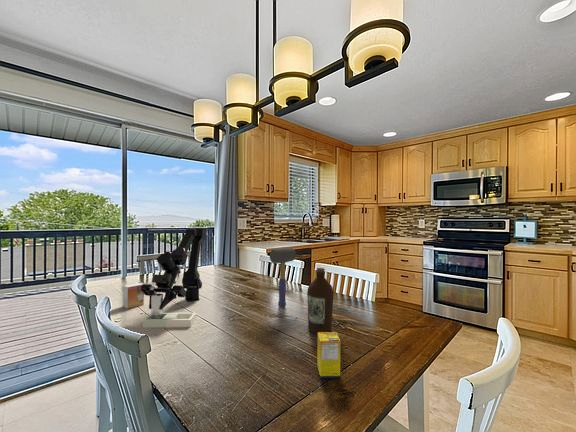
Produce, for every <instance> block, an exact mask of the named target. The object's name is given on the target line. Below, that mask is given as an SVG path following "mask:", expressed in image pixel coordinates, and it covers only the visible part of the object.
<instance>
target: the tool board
mask: <svg viewBox="0 0 576 432" xmlns="http://www.w3.org/2000/svg"><path fill="white" fill-rule="evenodd" d="M196 320H197V312H163V318H162V319H151V313H149V314H148V315H147V316H146V317H145V318H143V319H142V322H141V323H142V326H141V327H142V328H143V329H145V328H147V329H148V328H153V329H154V328H191V327H192V326H193V325H194V323H195V322H196Z"/></svg>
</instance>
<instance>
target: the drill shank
mask: <svg viewBox="0 0 576 432" xmlns="http://www.w3.org/2000/svg"><path fill="white" fill-rule="evenodd" d="M163 299H164V294H163V293H157V294H153V295H151V309H150V310H151V311H150V314H151V319H162V318H163V313H164V308H163V309H162V310H160V306H161V304H162V301H163Z"/></svg>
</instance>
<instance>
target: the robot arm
mask: <svg viewBox="0 0 576 432" xmlns="http://www.w3.org/2000/svg"><path fill="white" fill-rule="evenodd" d="M206 236H207V230H206V229H205V228H204V227H192V228H186V229H185V231H184V234H183V236H182V238H181V240H180V241H179V244H178V246H177V248H175V249H173V250H172V251H164V253H161V254H160V255H159V256H157V258H156V261H157V264H159V266H160V268H161V269H162V270H163V271H164V272H163V274H153V277H152V280H151V283H154V284H155V286H156V287H155V286H153V284H151V283H142V284H143V285H142V286H141V287H140V290H141V291H142V292H143V294H144V296H146V297H148V296H149V303H148V309H149V310H151V295H153V294H158V293H161V294H163V293H164V296H163V301H162V304H161V306H160V310H162V309H163V310H164V308H165V307H166V306H167V305H169V304H170V303H171V302H172V301H174V300H176V299H177V297H178V298H184V299H185V301H186V302H194V301H200V298H199V297H200V290H201V289H202V287H203V282H202V280H201V278H200V273H199V270H198V268H199V260H200V253H201V246H202V244H203V242H204V241H205V239H206ZM190 247H191V248H190ZM189 249H190V254H189V260H188V261H189V262H188V267H187V269H186V271H184V272H183V274H182V275H183V276H182V280H181V284H182V285H176V283H177V281H176V279H177V277H178V275H179V274H181V267H179V266H184V265H185V264H186V262H187V259H188V251H189ZM185 289H186V290H185Z"/></svg>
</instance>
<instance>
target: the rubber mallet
mask: <svg viewBox="0 0 576 432" xmlns="http://www.w3.org/2000/svg"><path fill="white" fill-rule="evenodd" d="M296 256H297V255H296V250H295V249H294V248H293V247H278V248H273V249H271V250H270V252H269V260H270V262H271V263H273V264H279V266H280V267H279V281H278V303H277V304H278V307H279V308H280V309H285V308H286V306H287V301H286V292H287V291H286V290H287V279H286V263H289V262H293V261H294V260H295V259H296Z"/></svg>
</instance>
